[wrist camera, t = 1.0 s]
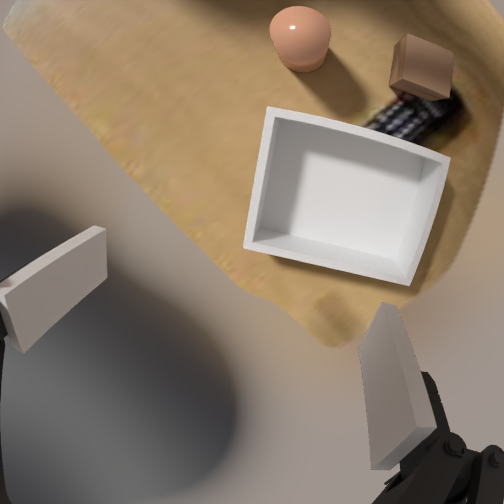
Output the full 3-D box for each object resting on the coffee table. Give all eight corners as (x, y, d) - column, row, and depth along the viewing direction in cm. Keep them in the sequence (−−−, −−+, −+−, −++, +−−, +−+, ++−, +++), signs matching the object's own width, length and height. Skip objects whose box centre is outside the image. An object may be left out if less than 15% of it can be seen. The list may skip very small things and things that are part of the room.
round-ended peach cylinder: (282, 27, 24) (274, 2, 18) (329, 36, 24) (334, 12, 18) (274, 68, 27) (265, 51, 20) (322, 77, 26) (326, 61, 20)
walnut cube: (394, 46, 23) (407, 33, 18) (435, 61, 22) (454, 52, 18) (388, 86, 25) (402, 78, 20) (430, 101, 25) (449, 97, 20)
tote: (273, 110, 28) (267, 106, 24) (431, 153, 27) (450, 158, 22) (251, 231, 34) (242, 248, 29) (397, 265, 32) (409, 286, 28)
